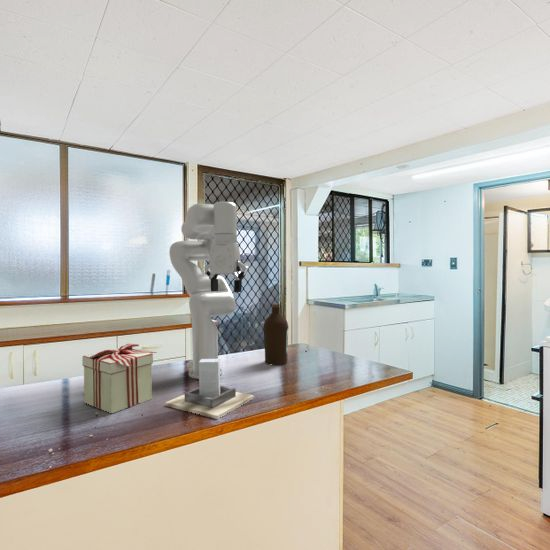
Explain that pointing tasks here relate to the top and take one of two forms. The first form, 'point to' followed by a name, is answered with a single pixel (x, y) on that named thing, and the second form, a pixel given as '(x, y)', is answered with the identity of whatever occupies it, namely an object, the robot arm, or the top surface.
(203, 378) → the skincare box
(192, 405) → the holder board
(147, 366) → the gift box
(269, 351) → the olive oil
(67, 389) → the top surface
